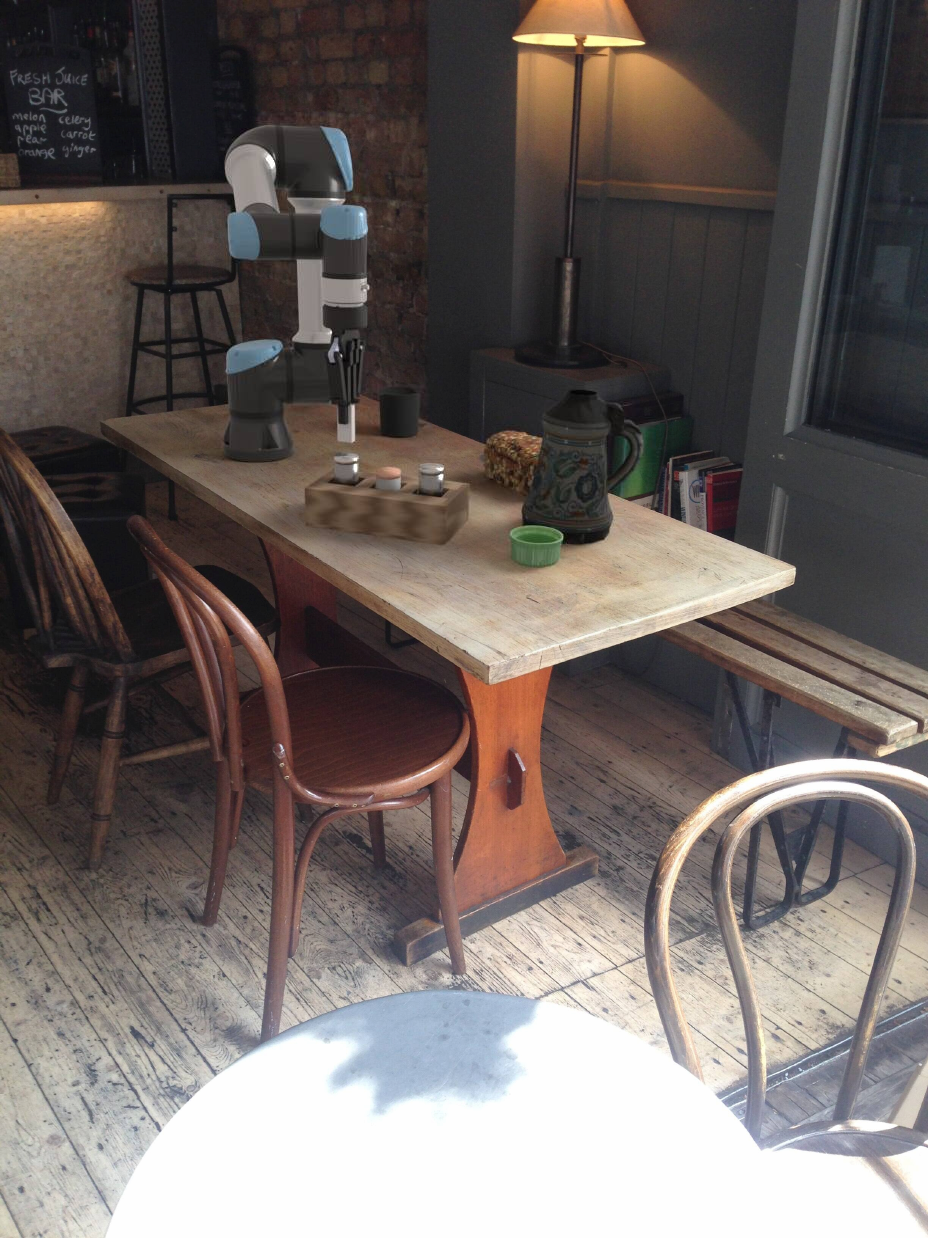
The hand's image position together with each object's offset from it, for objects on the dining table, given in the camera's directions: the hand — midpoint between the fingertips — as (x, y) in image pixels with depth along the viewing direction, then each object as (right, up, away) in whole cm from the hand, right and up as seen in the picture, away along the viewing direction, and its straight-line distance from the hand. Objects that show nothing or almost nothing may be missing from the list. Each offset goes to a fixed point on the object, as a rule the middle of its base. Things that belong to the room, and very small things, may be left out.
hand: (346, 440), depth 193 cm
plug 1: (0, -8, +4) cm, 9 cm away
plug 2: (+15, -11, 0) cm, 18 cm away
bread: (+34, -5, +28) cm, 44 cm away
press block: (+7, -14, +4) cm, 16 cm away
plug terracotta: (+7, -11, +3) cm, 14 cm away
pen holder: (+6, +12, +62) cm, 63 cm away
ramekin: (+33, -22, -9) cm, 40 cm away
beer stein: (+41, -15, +5) cm, 44 cm away
